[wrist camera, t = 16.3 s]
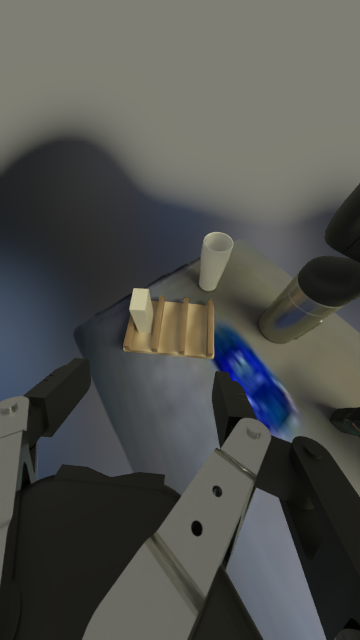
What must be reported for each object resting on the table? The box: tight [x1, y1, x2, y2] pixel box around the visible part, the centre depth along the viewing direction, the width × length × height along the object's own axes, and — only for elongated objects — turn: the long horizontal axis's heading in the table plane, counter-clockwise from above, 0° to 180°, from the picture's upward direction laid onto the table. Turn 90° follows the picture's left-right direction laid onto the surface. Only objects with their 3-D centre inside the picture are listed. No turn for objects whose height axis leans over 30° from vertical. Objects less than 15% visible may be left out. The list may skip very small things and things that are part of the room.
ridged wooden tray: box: [123, 296, 214, 359], centre depth 45 cm, size 21×14×4 cm, turn 85°
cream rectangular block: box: [129, 288, 154, 334], centre depth 41 cm, size 3×5×11 cm, turn 177°
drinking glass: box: [199, 232, 233, 291], centre depth 47 cm, size 7×7×15 cm
